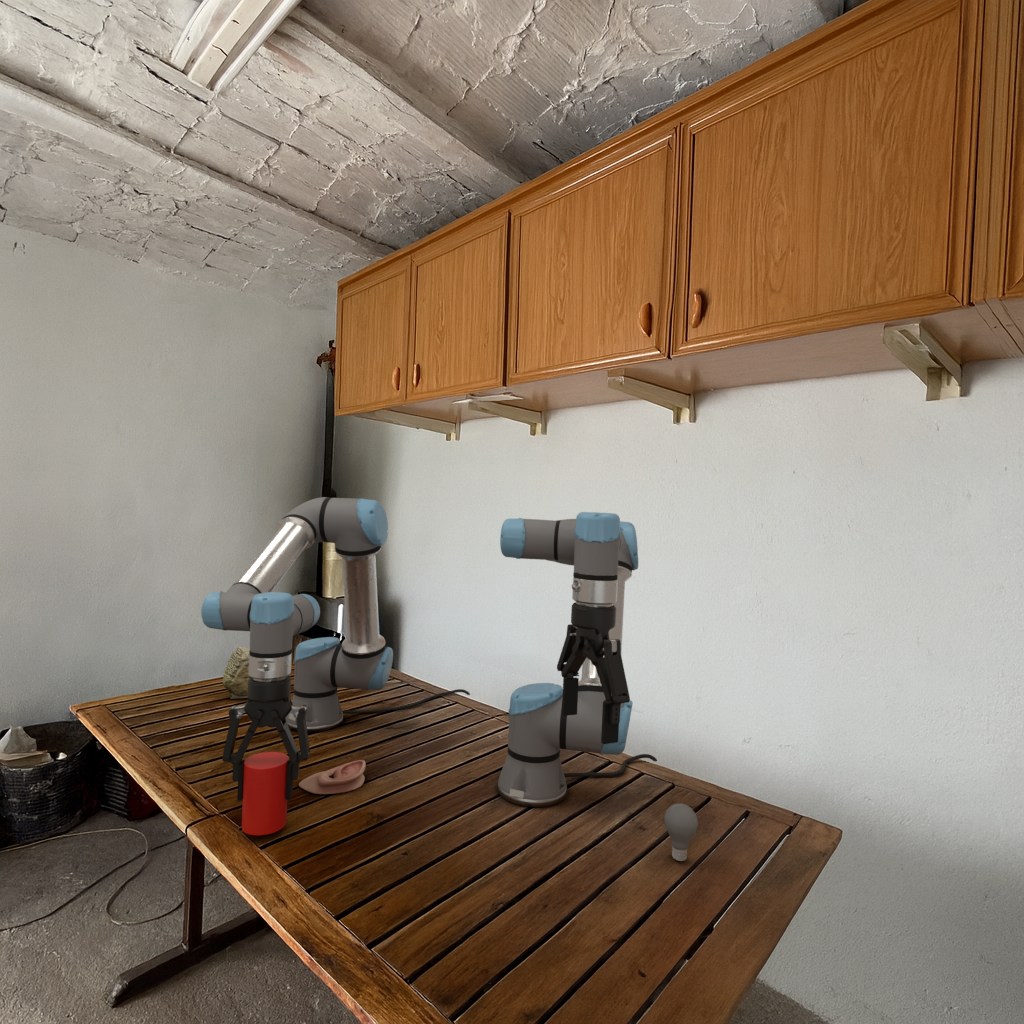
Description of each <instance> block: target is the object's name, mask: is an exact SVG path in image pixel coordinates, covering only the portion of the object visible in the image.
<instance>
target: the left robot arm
mask: <svg viewBox="0 0 1024 1024" xmlns="http://www.w3.org/2000/svg"><path fill="white" fill-rule="evenodd" d="M387 516H388V515H387V513H386V509H385V508H384V506H383V505H382V503H381V502H380V501H378V500H375V499H368V498H367V499H366V498H364V497H361V498H357V497H356V498H352V497H348V498H347V497H330V496H329V497H327V496H322V497H316V498H312V499H309V500H307V501H305V502H303V503H301V504H299V505H297V506H296V507H294V508H293V509H291V510H290V511H288V512H287V514H285V515H284V516H283V517H282V519H280V521H279V522H278V523H277V525H276V530H275V531H276V532H275V533H274V535H273V536H272V537H271V538H270V539H269V541H268V542H267V543H266V544H265V545H264V546H263V547H262V549H261V550H260V551H259V552H258V553H257V554H256V556H255V558H254V559H252V561H251V562H250V563H249V564H248V566H247V567H246V568H245V569H244V570H243V572H242V573H241V574H240V575H239V576H238V578H237V579H236V580H235V581H234V583H232V585H231V586H230V587H229V589H227V590H226V591H221V590H220V591H213V592H211V593H209V594H207V595H206V597H205V598H204V600H203V602H202V605H201V609H200V616H201V618H202V623H203V624H204V626H205V627H207V628H209V629H213V630H221V631H234V632H249V648H250V650H249V672H248V674H249V676H250V677H251V678H250V679H249V680H248V698H246V700H247V701H246V703H245V704H244V705H243V704H242V705H238V704H235V705H233V706H232V707H231V708H230V709H229V710H228V719H229V725H228V729H227V735H226V739H225V743H224V748H223V753H222V758H221V760H222V762H224V763H227V762H228V763H230V764H231V765H232V782H237V798H236V799H237V800H236V801H237V802H243V777H244V761H245V760H246V759H243V758H244V756H245V754H246V752H247V750H248V748H249V745H250V744H251V742H252V739H253V737H254V735H255V733H256V731H257V730H258V729H259V728H260V729H261V728H262V729H263V728H266V727H267V728H275V729H276V732H277V733H278V734H279V735H280V738H281V741H282V743H283V745H284V748H285V751H286V753H287V756H288V757H289V762H288V764H287V778H286V800H287V801H290V800H291V799H292V796H293V794H294V781H297V780H298V778H299V775H300V762H304V761H305V762H306V761H307V760H308V759H309V756H310V754H311V749H310V740H309V733H316V732H325V731H329V730H332V729H335V728H337V727H339V726H340V725H342V723H343V722H344V715H347V714H348V715H350V714H351V715H352V714H353V715H355V714H357V715H358V714H373V713H383V712H390V711H398V710H399V711H400V710H405V709H409V708H412V707H413V708H414V707H415V706H419V705H420V704H423V703H425V702H428V701H431V700H433V699H436V698H439V697H442V696H449V695H452V694H456V693H464V694H466V695H467V696H470V695H471V693H470V692H469V691H468V690H466V689H462V688H458V689H453V690H449V691H443V692H439V693H436V694H434V695H431V696H428V697H425V698H422V699H420V700H417V701H416V702H414V703H413V702H412V703H409V704H404V705H398V706H390V707H383V708H375V709H374V708H373V709H359V710H358V709H356V710H353V709H350V710H349V709H348V710H347V709H346V710H343V709H342V706H341V702H340V699H339V695H338V688H340V689H355V690H356V689H357V690H366V691H379V690H382V689H383V688H384V687H385V686H386V684H387V683H388V681H389V678H390V674H391V671H392V666H393V660H394V650H393V648H392V647H390V646H386V639H385V637H384V636H383V635H381V634H380V622H379V621H380V620H379V602H378V580H377V560H376V559H377V557H376V555H377V554H378V553H379V552H380V551H381V550H382V546H383V545H385V544H386V542H387V539H388V536H389V535H388V533H389V532H388V530H389V523H388V517H387ZM316 543H328V544H329V543H330V544H331V543H332V544H334V551H335V554H336V555H338V556H339V557H341V565H342V580H343V596H344V598H343V599H344V613H345V627H346V628H345V629H346V638H344V640H343V641H342V643H341V641H340V639H339V638H338V637H334V636H325V637H316V638H312V639H307V640H304V641H302V642H300V643H298V644H297V645H296V647H295V654H294V659H293V637H295V636H296V635H297V636H298V635H299V634H302V633H304V632H307V631H308V630H311V628H312V627H314V626H315V625H316V624H317V623H318V622H319V619H320V616H321V606H320V604H319V602H318V601H317V599H316V598H315V597H313V596H312V595H310V594H307V593H300V594H298V593H296V594H293V595H292V594H291V593H288V592H283V591H282V592H281V591H274V590H275V589H276V588H277V586H278V585H279V583H280V582H281V581H282V580H283V578H284V577H285V575H286V574H287V573H288V571H289V570H290V568H291V567H292V566H293V565H294V563H295V562H296V561H297V559H298V558H299V556H300V555H301V554H302V552H304V551H306V550H308V549H310V548H311V547H312V546H313V544H316ZM293 661H294V670H293V671H294V672H293V695H292V696H293V697H292V699H291V693H292V692H291V691H292V690H291V689H292V677H291V676H290V675H291V674H292V667H293V665H292V664H293V663H292V662H293ZM244 713H245V714H246V715H247V717H248V718H249V720H251V722H250V723H249V726H248V728H247V730H246V733H245V735H244V737H243V739H242V741H241V743H240V745H239V747H238V749H237V751H236V752H234V751H235V746H236V742H237V741H236V740H237V736H238V731H239V727H240V722H241V718H242V717H243V716H244ZM292 731H294V732H295V731H296V732H297V737H298V745H299V749H298V747H297V744H296V742H295V739H294V737H293V734H292Z"/></svg>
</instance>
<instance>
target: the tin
mask: <svg viewBox="0 0 1024 1024" xmlns="http://www.w3.org/2000/svg"><path fill="white" fill-rule="evenodd" d="M244 760H245V761H244V777H243V799H242V806H241V809H242V810H241V830H242V832H244V833H245V834H246V835H250V836H266V835H271V834H274V833H276V832H279V831H280V830H282V829H283V828H284V827H285V826H286V824H287V820H288V819H287V817H288V800H286V778H287V764H288V762H289V760H290V758H289V756H288V754H286V753H285V752H280V751H264V752H258V753H255V754H252V755H250V756H248V757H246V758H245V759H244Z"/></svg>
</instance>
